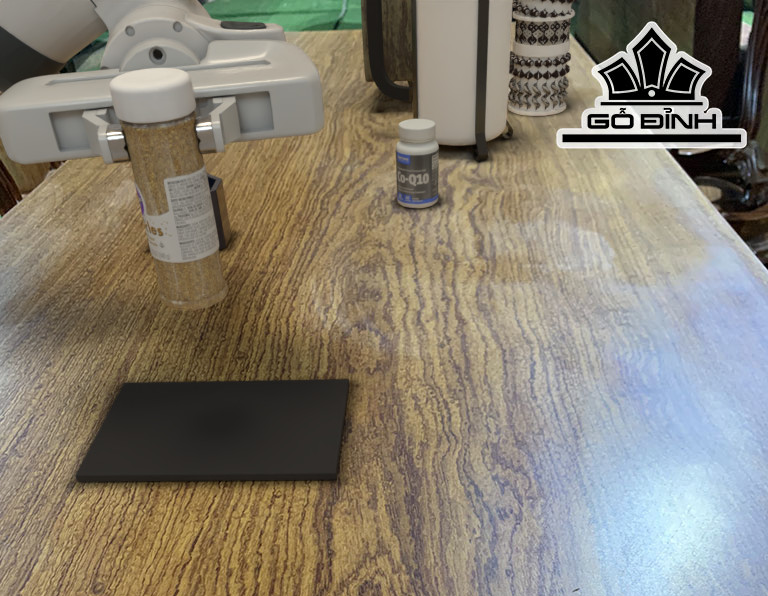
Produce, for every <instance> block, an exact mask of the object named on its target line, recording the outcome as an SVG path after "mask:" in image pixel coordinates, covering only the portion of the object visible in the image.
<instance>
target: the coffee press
mask: <svg viewBox="0 0 768 596" xmlns="http://www.w3.org/2000/svg"><path fill="white" fill-rule="evenodd" d="M512 3H513V0H411V26H412V75H413V87H409V85H407V86H406V85H400V84H397V83H395V82H394V83H393V82H392V81H391V80H390V78H389V77H388V75H387V73H386V70H385V65H384V49H383V25H382V0H366V12H367V35H368V52H369V64H370V70H371V74H372V78H373V80H374V82H373V83H374V85H375V86H376V87H377V89H378V90H379V92H380V93H381V92H382V93H383V94H384V95H385V97H387V98H388V99H391V100H396V101H400V102H406V103H410V104H411V110H412V114H413V115H412V119H427V120H431V121H433V122H435V130H436V135H435V138H434V140H436V141H437V143H438V145H442V146H453V147H454V146H456V147H458V146H469V147H470V149H471V151H472V154H473V158H474V160H475V161H476V162H478V161H485V160H488V158H489V148H488V143H487V142H490V141H492V140H495V139H496V138H498V137H499V136H500V137H501V138H503V139H504V140H509V139H511V138H512V137H513V135H514V129H513V127H512V125H511V123H509V121H508V104H509V103H508V101H509V99H508V94H509V86H508V85H509V81H510V71H509V65H511V64H510V51H511V42H512V41H511V40H512V21H513V16H512V15H513V6H512ZM506 128H507V132H506V133H505V134H502V133H503V132H504V130H505V129H506Z"/></svg>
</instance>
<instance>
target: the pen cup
mask: <svg viewBox="0 0 768 596" xmlns="http://www.w3.org/2000/svg"><path fill="white" fill-rule="evenodd" d="M207 178H208V184H209V189H210V195H211V200H212V206H213V211H214V217H215V223H216V228H217V234H218V240H219V251H220V250H223V249H225V248H227V247H228V244H229V241H230V240H231V237H232V230H231V224H230V218H229V213H228V208H227V201H226V194H225V188H224V182H223V178H221V177H219V176H216V175H214V174H212V173H208V172H207Z"/></svg>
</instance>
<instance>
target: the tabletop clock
mask: <svg viewBox="0 0 768 596" xmlns="http://www.w3.org/2000/svg"><path fill="white" fill-rule="evenodd" d="M360 17H361V18H360V19H361V37H362V54H363V68H364V79H365V82H366V83H375V82H374V80H373V78H372V74H371V70H370V64H369V52H368V35H367V12H366V0H360ZM382 25H383V49H384V65H385V70H386V73H387V75H388V77H389V78H390V80H391V81H392V82H393V83H395V82H407V84H408V87H413V75H412V26H411V0H382ZM385 98H386V95H384V94H383V93H382V92H381V91H380V96H379V98H378V99H376V100H374V103H373V107H374V109H375V110H376V111H377V112H381V111H384V109H385V107H386V104H385V103H386V102H385V101H384V99H385Z"/></svg>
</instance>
